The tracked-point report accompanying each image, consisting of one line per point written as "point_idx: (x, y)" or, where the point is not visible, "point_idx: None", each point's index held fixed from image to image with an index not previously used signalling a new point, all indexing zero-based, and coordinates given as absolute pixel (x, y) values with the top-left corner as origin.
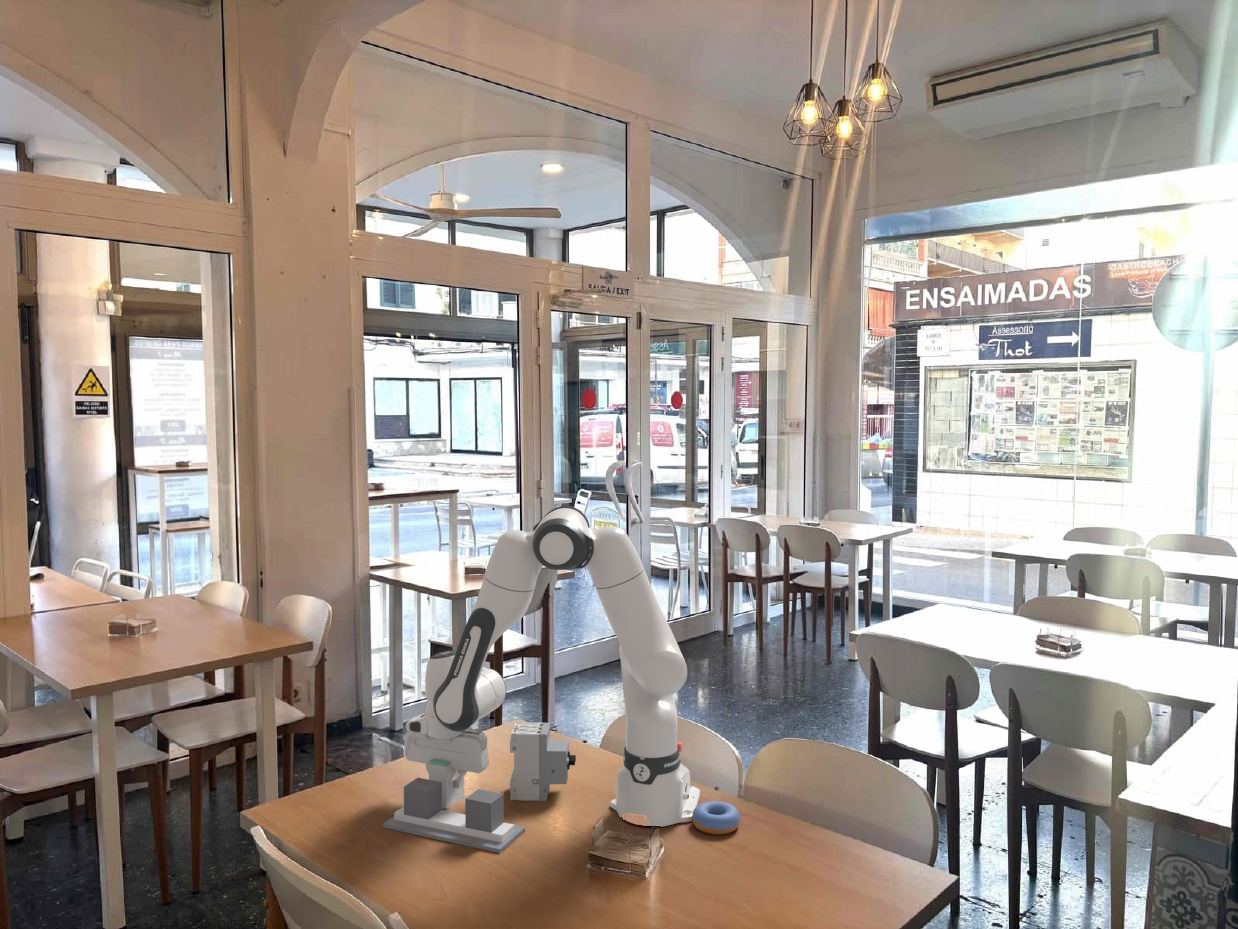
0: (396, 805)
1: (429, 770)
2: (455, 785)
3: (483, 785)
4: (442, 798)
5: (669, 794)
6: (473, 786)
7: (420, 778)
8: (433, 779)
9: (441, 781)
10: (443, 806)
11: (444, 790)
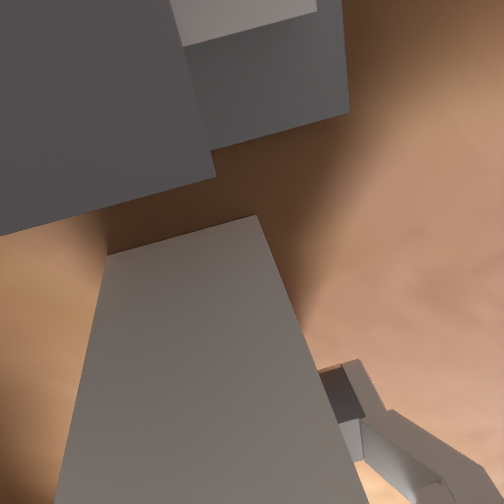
0: (483, 60)
1: (350, 489)
2: None
3: None
4: (135, 293)
5: None
6: None
7: (77, 185)
8: (253, 397)
9: (135, 425)
10: (131, 257)
11: (105, 356)
